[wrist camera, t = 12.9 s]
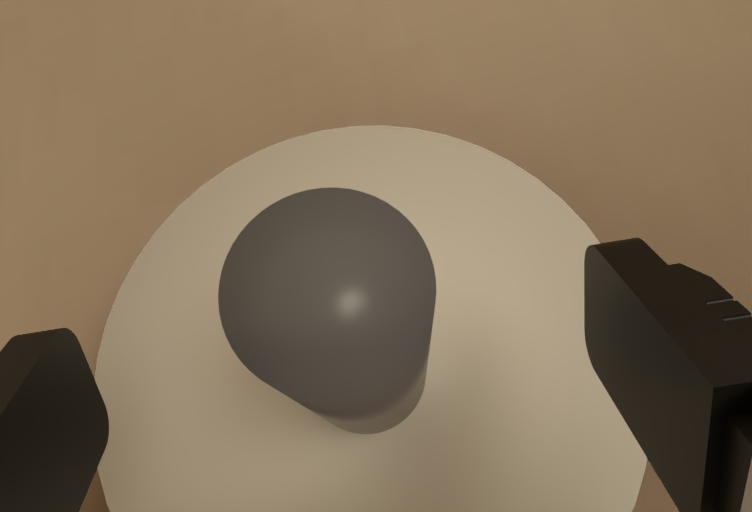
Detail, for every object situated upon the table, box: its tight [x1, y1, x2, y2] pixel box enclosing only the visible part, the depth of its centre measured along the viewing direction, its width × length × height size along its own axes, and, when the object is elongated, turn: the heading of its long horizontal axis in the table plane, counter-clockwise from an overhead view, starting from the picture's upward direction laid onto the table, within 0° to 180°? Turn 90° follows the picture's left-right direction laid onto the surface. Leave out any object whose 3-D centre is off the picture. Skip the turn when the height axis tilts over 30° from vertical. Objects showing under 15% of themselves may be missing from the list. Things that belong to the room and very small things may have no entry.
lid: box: [94, 125, 647, 512], centre depth 13 cm, size 14×14×9 cm
